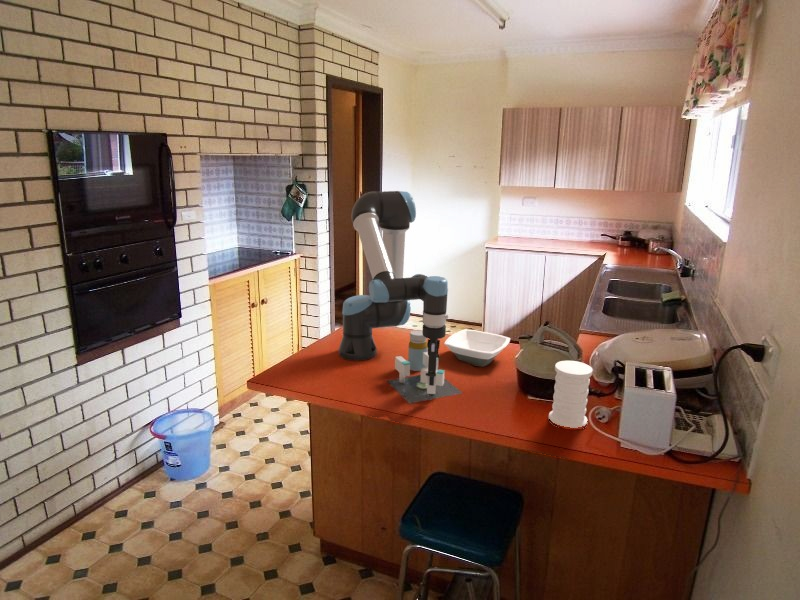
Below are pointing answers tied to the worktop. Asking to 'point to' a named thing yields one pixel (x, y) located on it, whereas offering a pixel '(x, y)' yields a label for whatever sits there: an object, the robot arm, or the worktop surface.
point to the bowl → (476, 346)
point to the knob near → (402, 368)
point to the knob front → (438, 376)
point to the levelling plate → (421, 389)
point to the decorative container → (570, 394)
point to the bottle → (417, 350)
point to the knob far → (427, 359)
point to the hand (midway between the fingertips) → (432, 384)
